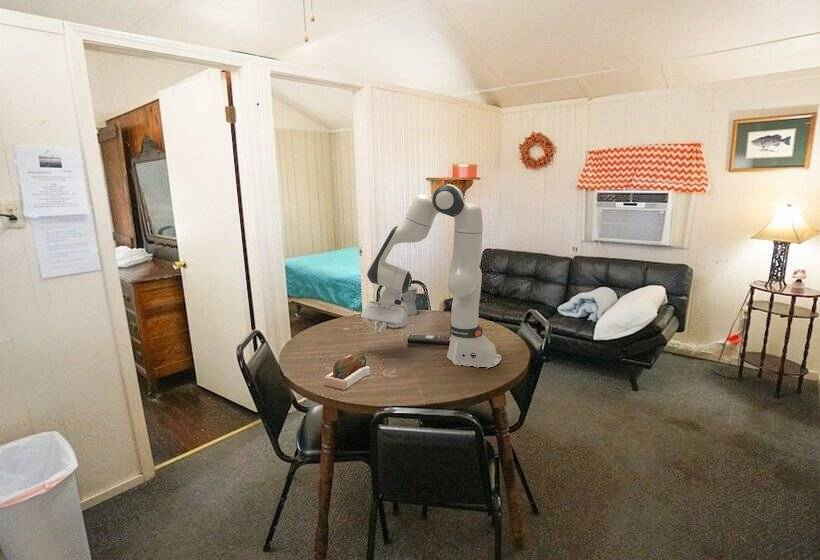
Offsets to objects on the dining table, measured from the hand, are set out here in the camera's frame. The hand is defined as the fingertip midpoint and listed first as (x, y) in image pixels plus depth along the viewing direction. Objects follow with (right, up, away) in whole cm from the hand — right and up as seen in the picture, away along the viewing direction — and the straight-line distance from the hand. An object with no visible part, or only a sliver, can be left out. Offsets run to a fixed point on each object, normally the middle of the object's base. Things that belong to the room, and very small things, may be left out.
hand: (377, 332), depth 182 cm
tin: (-9, -15, -15) cm, 23 cm away
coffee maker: (+12, +3, +64) cm, 65 cm away
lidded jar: (+5, -2, +42) cm, 43 cm away
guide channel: (-11, -16, -18) cm, 26 cm away
